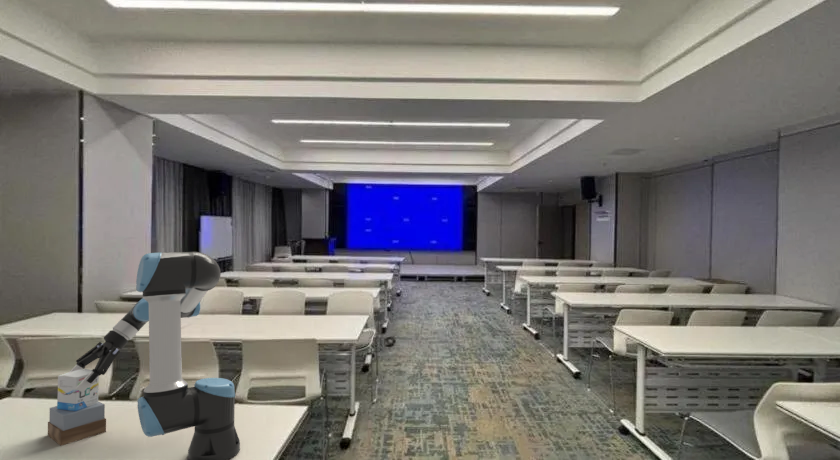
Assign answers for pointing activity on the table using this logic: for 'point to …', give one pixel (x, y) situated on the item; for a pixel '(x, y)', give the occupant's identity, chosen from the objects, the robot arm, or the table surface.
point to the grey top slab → (76, 416)
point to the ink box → (76, 391)
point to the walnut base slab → (76, 432)
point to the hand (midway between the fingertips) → (71, 386)
